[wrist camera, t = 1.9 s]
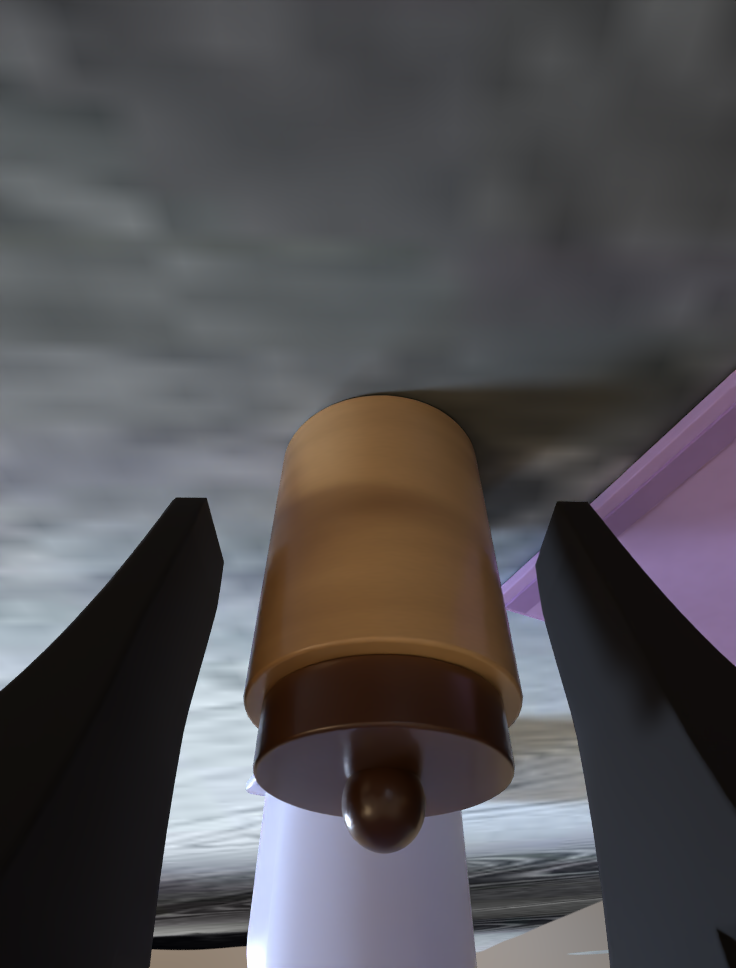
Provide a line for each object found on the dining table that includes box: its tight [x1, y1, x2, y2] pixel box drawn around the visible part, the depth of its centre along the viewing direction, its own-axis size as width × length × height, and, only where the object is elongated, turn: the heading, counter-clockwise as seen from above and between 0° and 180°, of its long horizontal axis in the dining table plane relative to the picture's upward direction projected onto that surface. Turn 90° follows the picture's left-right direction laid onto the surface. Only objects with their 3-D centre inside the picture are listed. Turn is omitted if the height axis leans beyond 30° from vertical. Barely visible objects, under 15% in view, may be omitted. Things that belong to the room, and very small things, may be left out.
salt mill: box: [243, 395, 523, 854], centre depth 10 cm, size 4×4×8 cm
